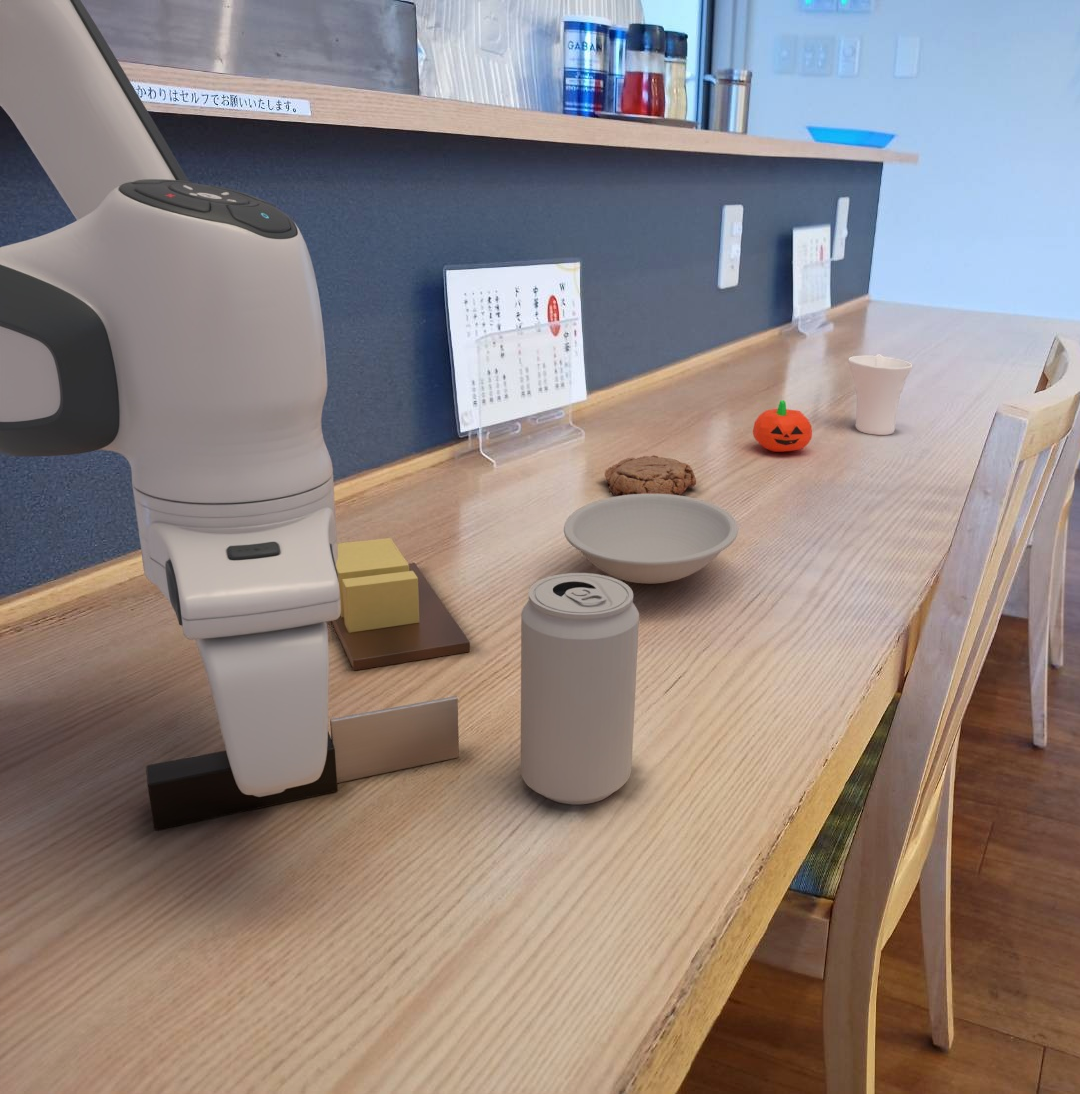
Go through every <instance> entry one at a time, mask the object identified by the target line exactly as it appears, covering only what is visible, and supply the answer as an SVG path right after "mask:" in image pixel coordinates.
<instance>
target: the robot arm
mask: <svg viewBox="0 0 1080 1094" xmlns="http://www.w3.org/2000/svg"><path fill="white" fill-rule="evenodd" d="M93 19H94V18H92V16H91V15H90V13H89V12H88V10H87V8H86V7H85V5H84V4H83V2H82V1H81V0H0V107H1V108H2V109H3V110H4V112H5V113H6V114H7V115H8V117H10V119H11V120H12V122H13V124H14V125H15V127H16V128H17V130H18V131H19V133H20V134H21V136H22V137H23V139H24V141H25V142H26V144H27V145H28V147H29V148H30V150H31V152H32V153H33V154H34V156H35V158H36V160H37V161H38V163H39V164H40V166H41V167H42V168H43V170H44V172H45V173H46V175H47V176H48V178H49V179H50V181H51V183H52V184H53V186H54V187H55V189H56V190H57V192H58V194H59V195H60V196H61V198H62V199H63V202H65V204H66V206H67V207H68V209H69V211H70V212H71V214H72V215H73V216H74V218H75V221H73V222H72V223H69V224H67V225H64V226H62V227H61V228H58V229H56V230H53V231H51V232H48V233H45V234H42V235H40V236H36V237H33V238H30V239H26V240H22V241H19V242H15V243H11V244H7V245H2V246H1V247H0V453H1V454H4V455H8V456H12V457H24V458H25V457H29V458H31V457H34V458H35V457H57V456H58V457H59V456H71V455H79V454H80V455H81V454H86V453H91V452H96V451H105V452H106V451H108V452H114V453H117V454H119V455H121V456H122V457H124V458H125V459H126V461H127V462H128V463H129V464H128V465H129V467H130V470H131V486H132V493H133V501H134V509H135V517H136V524H137V531H138V536H139V538H138V539H139V544H140V553H141V560H142V567H143V569H142V570H143V574H144V576H145V577H146V580H148V581H149V582H150V583H151V584H153V585H154V586H156V587H157V588H158V589H159V591H160V592H161V593H162V595H163V596H164V597H165V598H166V599H167V600H168V602H169V603H170V604H171V607H172V609H173V610H174V613H175V615H176V618H177V622H178V625H179V626H181V629H182V634H183V636H184V637H185V638H186V640H189V641H190V640H191V641H192V640H193V641H195V644H196V646H197V649H198V652H199V655H200V658H201V661H202V664H203V666H204V671H205V674H206V679H207V682H208V686H209V689H210V693H211V697H212V701H213V705H214V708H215V709H214V710H215V714H216V717H217V720H218V725H219V729H220V732H221V736H222V740H223V744H224V748H225V750H226V752H227V756H228V759H229V763H230V766H231V770H232V773H233V776H234V779H235V781H236V784H237V786H238V788H239V789H240V791H241V792H242V793H244V794H246V795H254V796H257V797H262V796H267V795H272V794H277V793H281V792H283V791H284V790H285V789H287V788H292V787H296V786H301V785H305V784H309V783H312V782H314V781H316V780H318V779H319V777H320V776H321V774H322V772H323V769H324V765H325V762H326V756H327V743H328V732H329V709H330V708H329V703H330V702H329V700H330V698H329V695H330V648H329V645H330V644H329V632H328V624H327V622H332V620H336V619H338V618H339V617H340V614H341V602H340V588H339V581H338V573H337V569H336V562H337V559H338V545H337V544H338V534H337V533H338V531H337V518H336V517H337V514H336V513H337V512H336V497H335V484H334V468H333V467H334V466H333V462H332V458H331V456H330V453H329V450H328V448H327V445H326V442H325V439H324V435H323V428H322V426H323V425H322V418H323V409H324V404H325V400H326V398H327V397H326V396H327V394H328V393H327V392H328V369H327V357H326V354H327V353H326V345H325V343H326V342H325V341H326V340H325V331H324V323H323V316H322V315H323V314H322V307H321V302H320V294H319V293H320V292H319V289H318V284H317V278H316V274H315V269H314V265H313V260H312V258H311V257H312V256H311V254H310V252H309V249H308V246H307V243H306V241H305V239H304V237H303V234H302V232H301V229H300V228H299V227H298V225H297V223H296V222H295V221H294V220H293V219H292V218H291V217H290V216H289V214H286V213H285V212H284V211H282V210H281V209H279V208H277V206H276V205H274V204H272V203H270V202H268V201H266V200H264V199H262V198H260V197H257V196H254V195H251V194H248V193H246V192H243V191H238V190H234V189H230V188H227V187H221V186H218V185H213V184H210V185H208V184H207V185H206V184H200V183H195V182H192V181H190V180H189V179H188V176H187V175H186V174H185V171H184V170H183V169H182V167H181V165H180V164H179V162H178V160H177V158H176V157H175V155H174V154H173V151H172V150H171V148H170V147H169V145H168V143H167V142H166V140H165V138H164V137H163V134H162V133H161V132H160V130H159V127H158V126H157V124H156V123H155V121H154V119H153V118H152V116H151V114H150V113H149V111H148V109H147V108H146V106H145V104H144V103H143V101H142V99H141V98H140V95H138V92H137V91H136V89H135V87H134V86H133V84H132V83H131V81H130V79H129V77H128V76H127V74H126V72H125V70H124V69H123V67H122V66H121V64H120V62H119V61H118V59H117V57H116V55H115V54H114V52H113V50H112V49H111V47H110V46H109V44H108V42H107V40H106V39H105V37H104V36H103V34H102V32H101V31H100V29H99V27H98V26H97V24H96V22H95V21H94V20H93Z"/></svg>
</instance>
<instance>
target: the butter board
mask: <svg viewBox="0 0 1080 1094" xmlns="http://www.w3.org/2000/svg"><path fill="white" fill-rule="evenodd" d="M408 564H409V571H413V572H414V573H415V575H416V576H417V578H418V596H419V623H413V624H406V625H400V626H393V627H386V628H379V629H372V630H365V631H358V632H352V633H349V632H348V630H347V628H346V626H345V621H344V618H342V617H341V615H340V617H339V618H338V619H336V620H332V621H331V624H332V625H333V627H334V630H335V632H336V633H337V634H336V635H337V636H338V639H339V641H340V643H341V644H342V647H343V649H344V653H345V654H346V656H347V658H348V660H349V663H350V665H351V667H352V669H353V671H359V670H365V669H371V668H378V667H385V666H391V665H396V664H403V663H409V662H415V661H421V660H428V659H433V658H439V657H446V656H451V655H457V654H463V653H470V652H471V642H470V640H469V639H468V637H467V636H466V634H465V633H464V632H463V630H462V629H461V627H460V626H459V624H458V623H457V621H456V620H455V619H454V617H453V616H452V614H451V613H450V610H448V609H447V607H446V606H445V604H444V603H443V601H442V600H441V598H440V597H439V595H438V594H437V593H436V591H435V590H434V588H433V587H432V585H431V583H429V581H428V580H427V578H426V576H425V575H424V573H422V571H421V569H420V568H419V567H418V565H417V564H416V562H410V563H408Z"/></svg>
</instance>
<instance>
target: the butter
mask: <svg viewBox="0 0 1080 1094" xmlns="http://www.w3.org/2000/svg"><path fill="white" fill-rule="evenodd" d="M337 545H338V559H337V562H336V569H337V573H338V581H339V588H340V602H341V614H340V615H341V617H342V618H344V605H343V589H342V579H349V578H357V577H365V576H374V575H382V574H390V573H398V572H406V571H409V564H410V563H408V561H407V560H406V559H405V557H404V555H403V554H402V553H401V551H400V550H399V548H398V546H397V545H396V544H395V542H394V541H393V539H392V538H391V537H386V538H378V539H377V538H376V539H368V540H359V541H358V540H357V541H350V542H349V541H347V542H339V543H338V542H337Z"/></svg>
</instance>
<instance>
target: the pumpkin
mask: <svg viewBox="0 0 1080 1094" xmlns="http://www.w3.org/2000/svg"><path fill="white" fill-rule="evenodd" d="M752 435H753V437H754V439H755V441H756V442H757V443H758V444H759V445H760V446H761V447H762V448H765V449H766V450H768V451H770V452H773V453H776V452H777V453H781V452H793V451H797V450H804V448H806V446H808V444H809V443H810V441H811V440H812V438H813V429H812V425H811V422H810V420H809V419H808V418H807V417H806V416H805V414H804V413H803V412H802V411H801V410H795V409H789V408H787V405H786V401H785V400H780V401H779V404H778V407H777V408H773V409H767V410H765V411H763V412H762V413H760V415H758V416H757V418H756V420H755V421H754V424H753V429H752Z"/></svg>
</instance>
